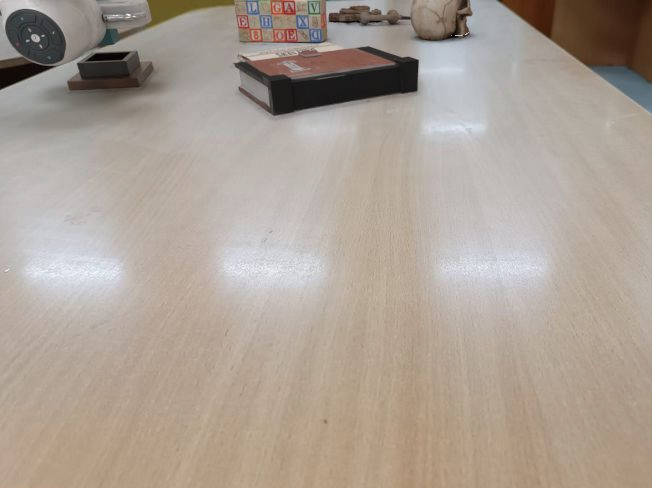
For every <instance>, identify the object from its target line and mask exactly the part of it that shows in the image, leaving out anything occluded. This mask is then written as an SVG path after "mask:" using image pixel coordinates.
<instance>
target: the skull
mask: <svg viewBox="0 0 652 488" xmlns="http://www.w3.org/2000/svg"><path fill="white" fill-rule="evenodd" d="M473 15H474V12H473V11H472V9H471V0H412V1H411V5H410V16H409V17H411V20H410V23H411V26H412V28H413V30H414V33H415V34H416V35H417V36H419V38H420V39H422V40H430V41H442V40H445V39H447V38H449V37H452V38H456V39H458V38H459V39H461V38H464V37H467V36H468V35H469V34H470V32H471V31H470V28H469V27H468V25H467V22H468V20H467V17H473ZM468 32H469V33H468ZM466 33H468V34H467V35H465V34H466ZM451 35H452V36H451ZM455 35H465V36H455Z"/></svg>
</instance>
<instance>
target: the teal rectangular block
mask: <svg viewBox="0 0 652 488" xmlns="http://www.w3.org/2000/svg"><path fill="white" fill-rule="evenodd" d="M95 1H97V0H95ZM119 41H121V39H120V34H119V29H106V32H105V35H104V38H103V39H102V41H101V42H100V43H99V44H97V45H96V46H113V45H114V46H115V44H117V43H118V42H119ZM96 46H95V47H96Z"/></svg>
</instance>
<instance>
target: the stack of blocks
mask: <svg viewBox="0 0 652 488" xmlns="http://www.w3.org/2000/svg"><path fill="white" fill-rule="evenodd" d="M233 4H234V11H235V12H234V13H235V17H236V23H237V30H238V37H239V42H249V43H250V42H252V43H274V42H275V43H324V41H325V40H327V39H328V20H327V19H328V18H327V0H233Z"/></svg>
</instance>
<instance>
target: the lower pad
mask: <svg viewBox="0 0 652 488" xmlns="http://www.w3.org/2000/svg"><path fill="white" fill-rule="evenodd" d="M76 66H77V69H78V72H77V73H76V74H75V75H73V76H72V77H71V78H70V79H68V80H67V81H66V83H67V86H68V90H69V91H77V90H98V89H99V90H100V89H118V88H119V89H120V88H135V87H136V88H140V86H141V85H142V84H143V83H144V82H145V80H146V79H147V78H148V76H149V75H150V74H151V73H152V71H153V70H154V65H153V61H152V60H151V61H141V60H140V56H139V52H138V50H118V51H94V52H90V53H89V54H87V55H86V56H85V57H83V58H82V59H80V60H79V61H78V62H76Z"/></svg>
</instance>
